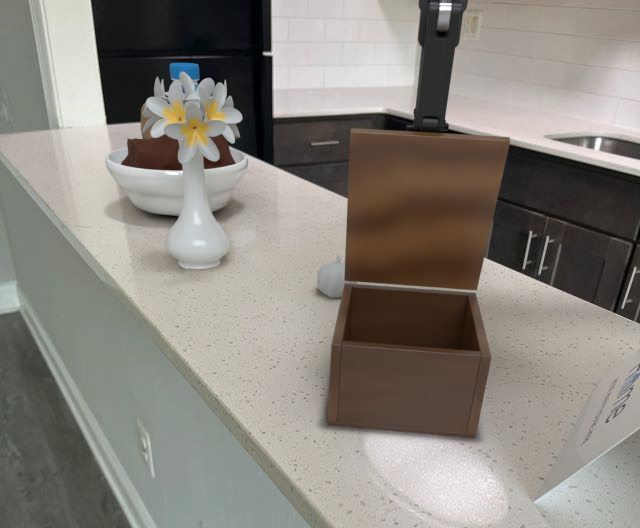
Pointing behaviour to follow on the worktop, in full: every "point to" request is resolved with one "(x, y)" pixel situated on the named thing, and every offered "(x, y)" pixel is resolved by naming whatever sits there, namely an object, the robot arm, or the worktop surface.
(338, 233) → the worktop surface
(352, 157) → the lid
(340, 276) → the garlic
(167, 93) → the flower vase
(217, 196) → the white bowl
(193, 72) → the beverage bottle
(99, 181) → the worktop surface
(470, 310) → the bread box
